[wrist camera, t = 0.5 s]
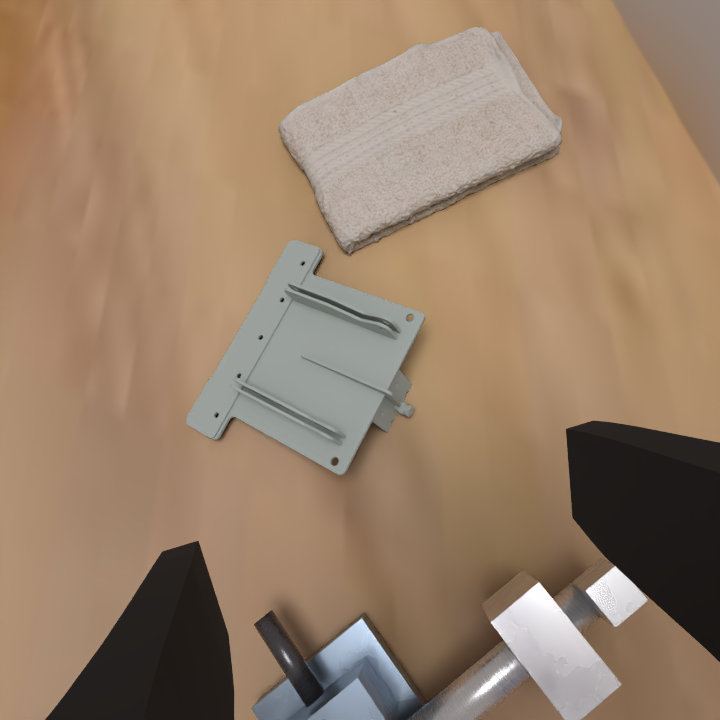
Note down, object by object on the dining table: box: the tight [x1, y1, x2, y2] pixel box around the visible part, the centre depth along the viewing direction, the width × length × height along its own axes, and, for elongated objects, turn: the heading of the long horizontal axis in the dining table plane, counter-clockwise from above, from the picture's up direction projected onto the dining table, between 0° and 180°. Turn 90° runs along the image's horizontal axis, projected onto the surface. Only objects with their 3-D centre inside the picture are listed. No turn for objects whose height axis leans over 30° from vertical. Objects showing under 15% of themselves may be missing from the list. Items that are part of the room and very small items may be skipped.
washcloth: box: [278, 27, 562, 255], centre depth 39 cm, size 12×18×3 cm, turn 116°
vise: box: [252, 559, 648, 720], centre depth 29 cm, size 16×20×6 cm
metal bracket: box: [186, 240, 425, 475], centre depth 37 cm, size 14×6×15 cm
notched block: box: [481, 570, 622, 720], centre depth 27 cm, size 5×3×4 cm, turn 38°
